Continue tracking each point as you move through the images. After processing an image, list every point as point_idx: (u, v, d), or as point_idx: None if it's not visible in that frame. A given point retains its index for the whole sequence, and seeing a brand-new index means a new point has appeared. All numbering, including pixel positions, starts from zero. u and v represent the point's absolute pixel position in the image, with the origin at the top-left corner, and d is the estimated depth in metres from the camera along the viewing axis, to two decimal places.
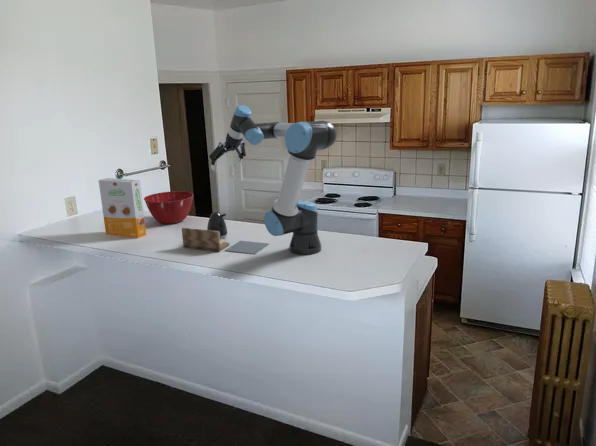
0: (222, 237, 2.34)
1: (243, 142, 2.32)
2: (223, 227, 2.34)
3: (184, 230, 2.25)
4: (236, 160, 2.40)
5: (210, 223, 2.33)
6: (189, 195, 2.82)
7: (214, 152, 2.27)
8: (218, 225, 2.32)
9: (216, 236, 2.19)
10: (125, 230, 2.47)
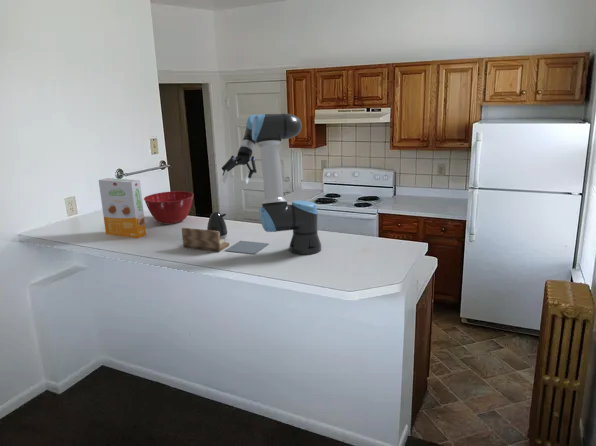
0: (222, 237, 2.34)
1: None
2: (223, 227, 2.34)
3: (184, 230, 2.25)
4: None
5: (210, 223, 2.33)
6: (189, 195, 2.82)
7: None
8: (218, 225, 2.32)
9: (216, 236, 2.19)
10: (125, 230, 2.47)
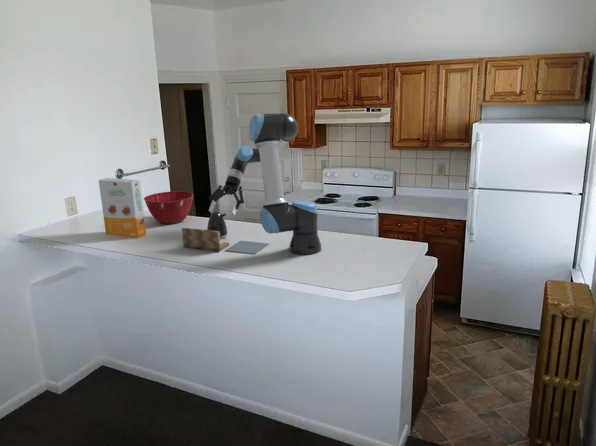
0: (222, 237, 2.34)
1: None
2: (223, 227, 2.34)
3: (184, 230, 2.25)
4: None
5: (210, 223, 2.33)
6: (189, 195, 2.82)
7: None
8: (218, 225, 2.32)
9: (216, 236, 2.19)
10: (125, 230, 2.47)
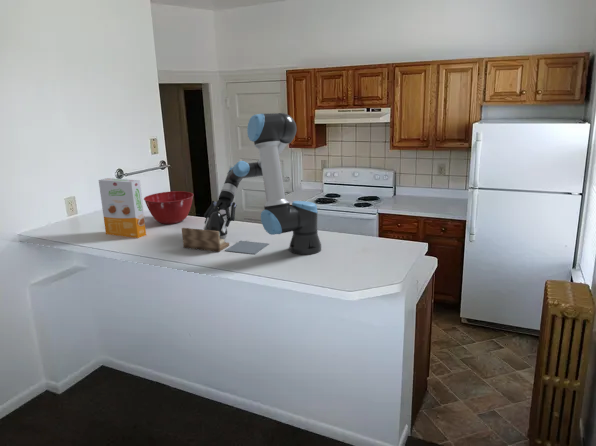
0: (222, 237, 2.34)
1: (234, 202, 2.39)
2: None
3: (184, 230, 2.25)
4: None
5: (210, 223, 2.33)
6: (189, 195, 2.82)
7: None
8: (218, 225, 2.32)
9: (216, 236, 2.19)
10: (125, 230, 2.47)
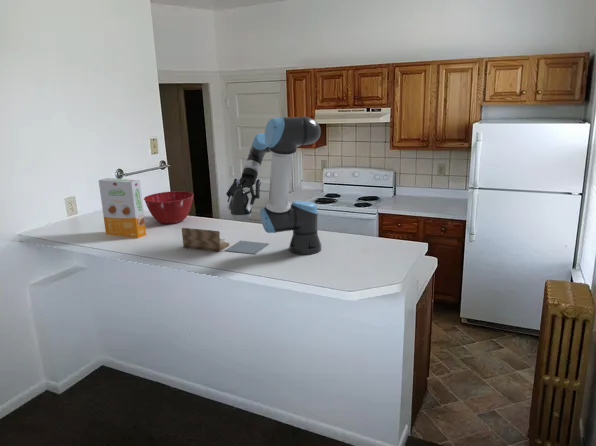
0: (247, 216, 2.21)
1: (258, 180, 2.25)
2: None
3: (184, 230, 2.25)
4: None
5: (234, 201, 2.19)
6: (189, 195, 2.82)
7: None
8: (243, 203, 2.18)
9: (216, 236, 2.19)
10: (125, 230, 2.47)
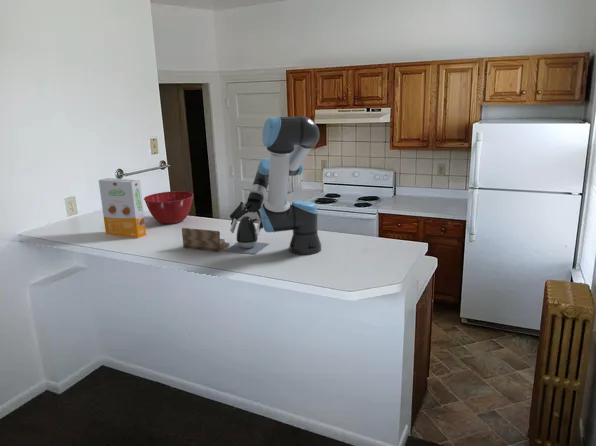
0: (253, 243, 2.22)
1: (264, 204, 2.26)
2: (254, 233, 2.21)
3: (184, 230, 2.25)
4: None
5: (240, 228, 2.20)
6: (189, 195, 2.82)
7: None
8: (249, 231, 2.20)
9: (216, 236, 2.19)
10: (125, 230, 2.47)
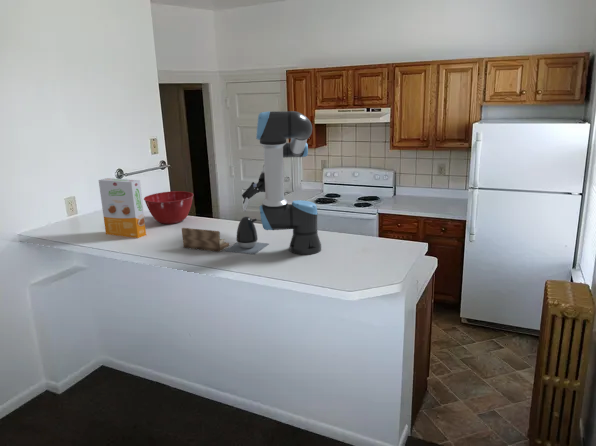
0: (253, 243, 2.22)
1: None
2: (254, 233, 2.21)
3: (184, 230, 2.25)
4: None
5: (240, 229, 2.20)
6: (189, 195, 2.82)
7: None
8: (249, 231, 2.19)
9: (216, 236, 2.19)
10: (125, 230, 2.47)
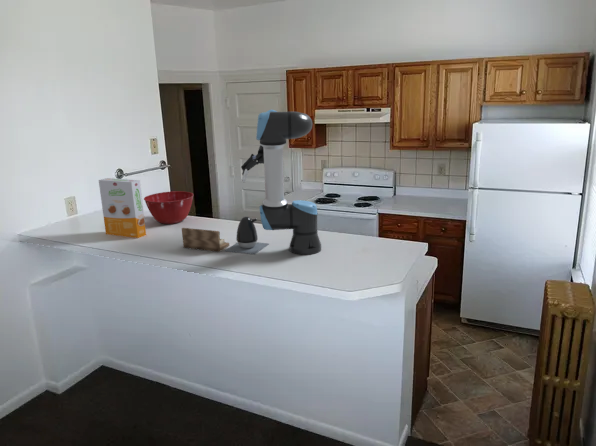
0: (253, 243, 2.22)
1: None
2: (254, 233, 2.21)
3: (184, 230, 2.25)
4: None
5: (240, 229, 2.20)
6: (189, 195, 2.82)
7: None
8: (249, 231, 2.19)
9: (216, 236, 2.19)
10: (125, 230, 2.47)
